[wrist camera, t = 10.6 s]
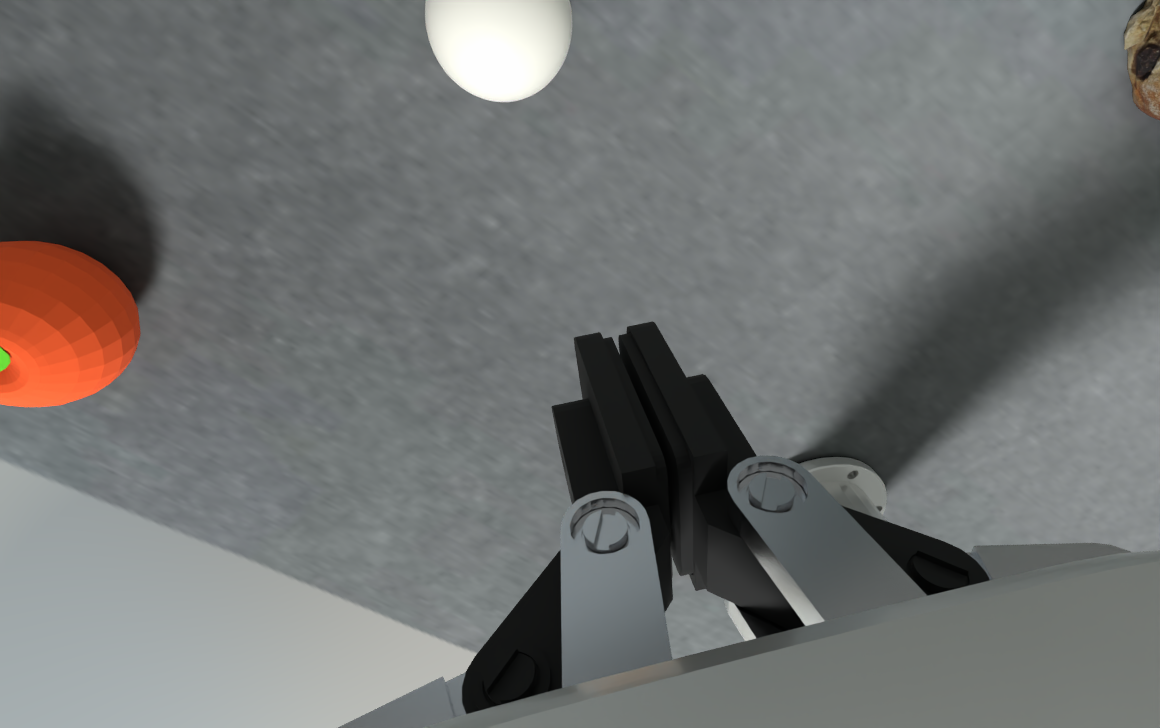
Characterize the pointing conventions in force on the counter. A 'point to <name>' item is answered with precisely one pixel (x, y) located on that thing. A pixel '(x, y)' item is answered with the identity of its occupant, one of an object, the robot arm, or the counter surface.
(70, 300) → the clementine
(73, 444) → the counter surface
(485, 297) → the counter surface
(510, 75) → the cue ball
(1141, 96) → the bread roll
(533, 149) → the counter surface
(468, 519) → the counter surface
